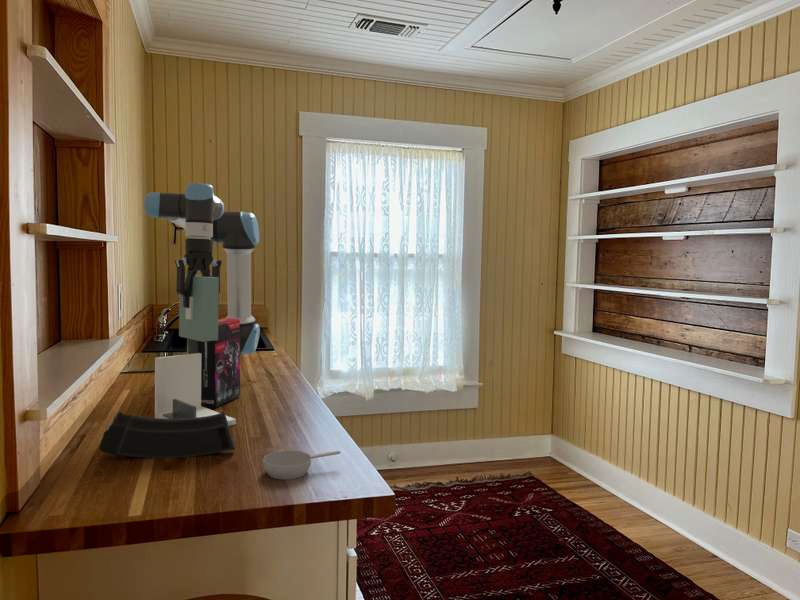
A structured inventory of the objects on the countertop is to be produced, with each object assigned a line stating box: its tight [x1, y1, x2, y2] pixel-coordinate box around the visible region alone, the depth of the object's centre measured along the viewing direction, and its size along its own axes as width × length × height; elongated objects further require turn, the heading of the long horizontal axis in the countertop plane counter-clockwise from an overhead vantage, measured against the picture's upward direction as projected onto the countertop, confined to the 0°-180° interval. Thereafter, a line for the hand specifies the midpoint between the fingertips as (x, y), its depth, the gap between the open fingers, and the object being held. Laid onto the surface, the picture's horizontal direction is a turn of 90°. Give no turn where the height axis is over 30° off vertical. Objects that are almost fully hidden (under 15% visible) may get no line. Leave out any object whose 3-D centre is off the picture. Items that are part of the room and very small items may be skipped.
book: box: [178, 274, 220, 342], centre depth 170 cm, size 5×13×18 cm, turn 48°
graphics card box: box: [198, 317, 241, 409], centre depth 193 cm, size 17×7×27 cm, turn 168°
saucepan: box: [263, 450, 341, 481], centre depth 136 cm, size 11×18×4 cm, turn 114°
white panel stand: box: [154, 353, 237, 427], centre depth 171 cm, size 14×21×18 cm, turn 48°
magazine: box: [98, 411, 236, 459], centre depth 142 cm, size 17×3×30 cm
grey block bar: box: [163, 399, 196, 419], centre depth 168 cm, size 4×12×4 cm, turn 48°
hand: (198, 318), depth 170 cm, fingers closed on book, 5 cm apart
